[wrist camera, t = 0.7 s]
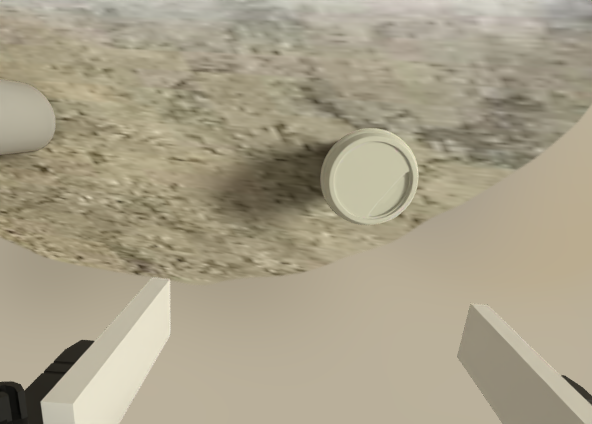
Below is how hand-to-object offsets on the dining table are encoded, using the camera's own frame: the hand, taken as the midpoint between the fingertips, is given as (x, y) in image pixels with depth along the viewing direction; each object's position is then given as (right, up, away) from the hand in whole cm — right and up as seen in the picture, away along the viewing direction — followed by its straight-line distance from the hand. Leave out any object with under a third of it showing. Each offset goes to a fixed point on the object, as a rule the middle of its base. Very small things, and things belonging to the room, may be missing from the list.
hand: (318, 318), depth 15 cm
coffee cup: (+5, +10, +25) cm, 28 cm away
